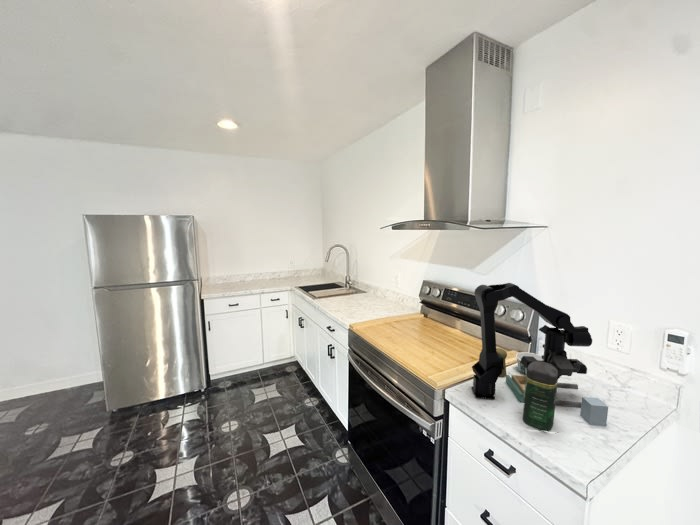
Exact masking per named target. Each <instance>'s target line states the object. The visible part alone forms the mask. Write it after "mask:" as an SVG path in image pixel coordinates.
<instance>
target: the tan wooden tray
mask: <svg viewBox="0 0 700 525" xmlns="http://www.w3.org/2000/svg"><path fill="white" fill-rule="evenodd" d="M510 377H511V379H512V380H513V381H514V383H515V384H516V385H517V387H518V388H519V389H520V391H521V392H522V393H523V395H524V396H523V397H525V387H526V375H525V374H522V375H521V374H511V376H510Z"/></svg>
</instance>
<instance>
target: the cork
mask: <svg viewBox="0 0 700 525" xmlns="http://www.w3.org/2000/svg"><path fill="white" fill-rule="evenodd" d="M496 351H497V352H498V353H499V354H500V355H501V356H502V357H503V360H504V361H503V367H504V370H503V369H502V374H501V375H500V376H499V377H498V378H506V375H507V366H506V359H507V357H508V352H507V351H506V350H505V349H504V348H499V347H498V348H497V347H496Z"/></svg>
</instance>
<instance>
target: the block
mask: <svg viewBox="0 0 700 525" xmlns="http://www.w3.org/2000/svg"><path fill="white" fill-rule="evenodd" d="M580 402H581V408H580V411H579V412H580V414H579V415H580V417H581V418H582V419H583V420H584V421H585V422H586V423H587V424H588V425H590V426H601V427H606V426H607V424H608V423H607V421H608V413H609V406H608V405H607V404H606V403H605V402H604V401H602V399H600V398H598V397H592V396H581V401H580Z"/></svg>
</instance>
